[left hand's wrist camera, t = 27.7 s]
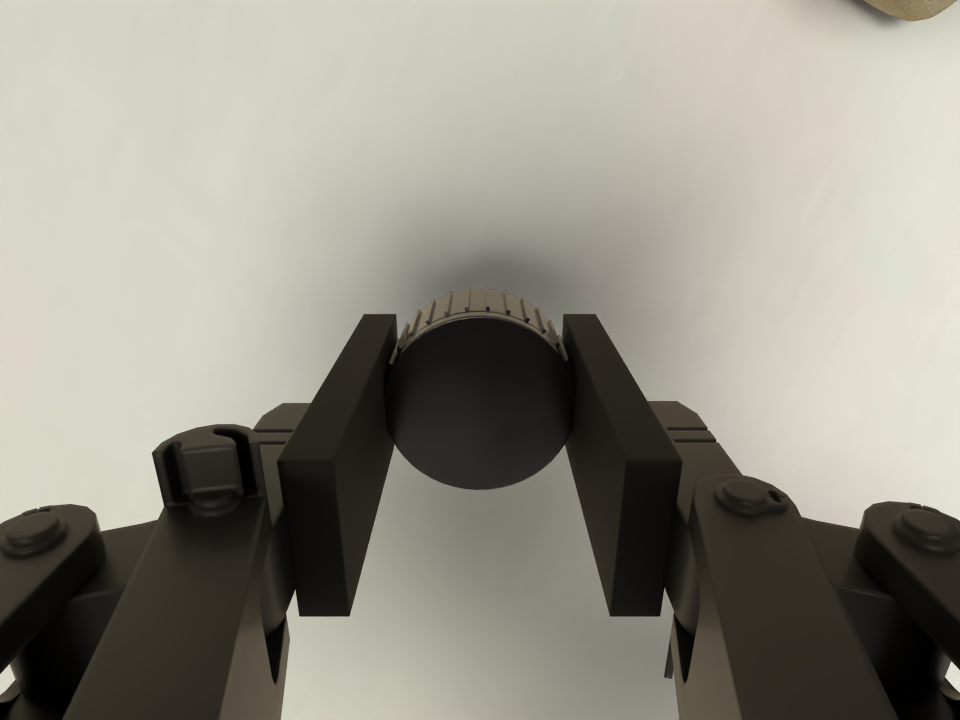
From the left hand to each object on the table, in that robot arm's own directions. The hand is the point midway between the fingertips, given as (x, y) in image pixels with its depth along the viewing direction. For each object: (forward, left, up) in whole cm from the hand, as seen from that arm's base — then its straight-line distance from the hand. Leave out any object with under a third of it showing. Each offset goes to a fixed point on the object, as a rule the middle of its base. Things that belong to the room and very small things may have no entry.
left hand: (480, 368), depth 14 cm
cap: (0, 0, +2) cm, 2 cm away
